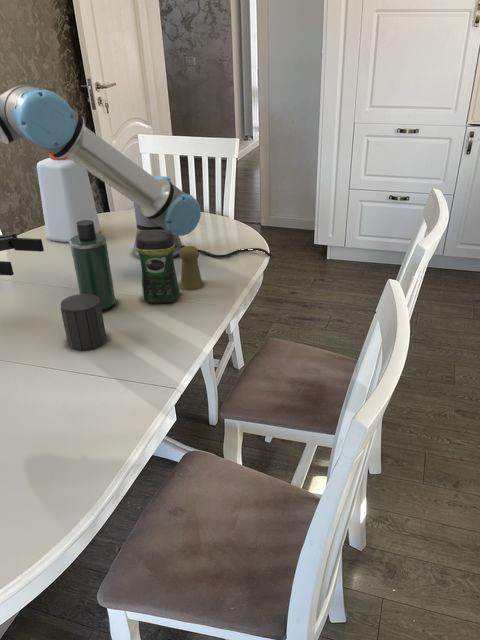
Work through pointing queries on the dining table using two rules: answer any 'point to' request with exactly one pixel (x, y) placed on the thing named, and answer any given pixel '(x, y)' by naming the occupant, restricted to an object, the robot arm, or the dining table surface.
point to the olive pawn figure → (190, 268)
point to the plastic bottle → (65, 197)
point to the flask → (93, 264)
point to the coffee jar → (157, 265)
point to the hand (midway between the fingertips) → (27, 256)
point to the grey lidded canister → (83, 321)
